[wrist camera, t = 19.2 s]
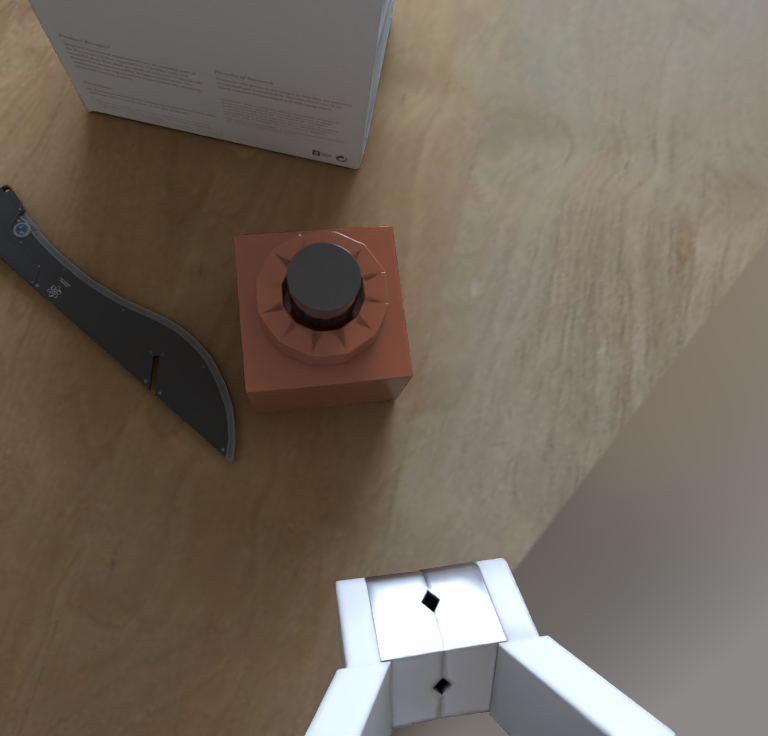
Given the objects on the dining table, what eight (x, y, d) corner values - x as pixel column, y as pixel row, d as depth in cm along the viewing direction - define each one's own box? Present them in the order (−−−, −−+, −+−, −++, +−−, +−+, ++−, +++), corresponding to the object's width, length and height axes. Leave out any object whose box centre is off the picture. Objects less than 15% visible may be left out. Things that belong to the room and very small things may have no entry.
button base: (396, 400, 36) (419, 367, 29) (256, 414, 35) (241, 384, 28) (379, 271, 38) (397, 208, 30) (245, 280, 37) (229, 217, 29)
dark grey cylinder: (360, 324, 29) (365, 308, 27) (291, 330, 29) (290, 314, 27) (353, 260, 30) (356, 239, 28) (285, 265, 30) (283, 244, 27)
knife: (280, 413, 35) (279, 411, 35) (228, 470, 34) (226, 469, 34) (-123, 62, 37) (-130, 54, 37) (-184, 105, 36) (-192, 98, 36)
